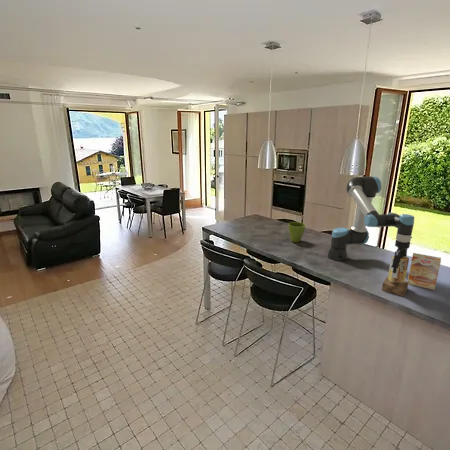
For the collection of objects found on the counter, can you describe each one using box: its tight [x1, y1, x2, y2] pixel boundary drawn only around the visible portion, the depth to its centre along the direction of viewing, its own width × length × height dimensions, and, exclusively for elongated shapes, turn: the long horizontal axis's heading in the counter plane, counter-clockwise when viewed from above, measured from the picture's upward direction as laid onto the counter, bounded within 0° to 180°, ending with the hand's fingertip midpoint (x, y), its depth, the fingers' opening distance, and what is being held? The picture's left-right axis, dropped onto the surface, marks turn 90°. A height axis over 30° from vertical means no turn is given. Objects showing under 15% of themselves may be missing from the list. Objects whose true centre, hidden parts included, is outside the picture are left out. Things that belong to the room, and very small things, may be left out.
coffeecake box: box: [407, 252, 442, 291], centre depth 192 cm, size 15×7×20 cm, turn 56°
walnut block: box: [381, 276, 409, 297], centre depth 188 cm, size 12×12×5 cm
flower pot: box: [287, 221, 306, 243], centre depth 273 cm, size 15×15×16 cm
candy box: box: [387, 255, 410, 282], centre depth 185 cm, size 9×4×15 cm, turn 93°
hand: (397, 275), depth 186 cm, fingers closed on candy box, 9 cm apart
